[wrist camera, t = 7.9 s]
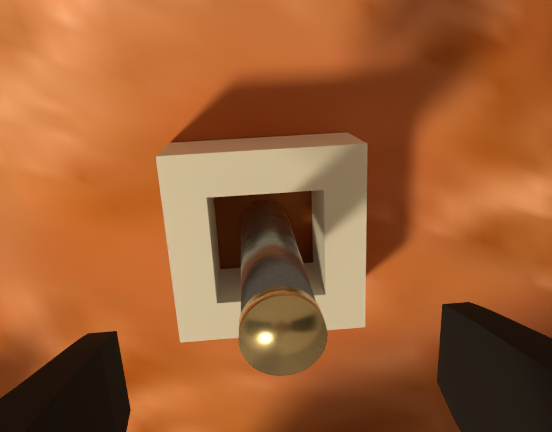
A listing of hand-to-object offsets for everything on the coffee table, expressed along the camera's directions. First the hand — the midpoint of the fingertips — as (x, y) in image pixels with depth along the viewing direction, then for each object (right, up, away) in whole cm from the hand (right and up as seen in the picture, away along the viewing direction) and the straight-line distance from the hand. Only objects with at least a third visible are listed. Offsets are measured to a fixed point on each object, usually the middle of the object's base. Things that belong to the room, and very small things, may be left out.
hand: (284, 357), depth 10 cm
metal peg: (-1, +3, +9) cm, 9 cm away
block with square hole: (-1, +3, +9) cm, 9 cm away
